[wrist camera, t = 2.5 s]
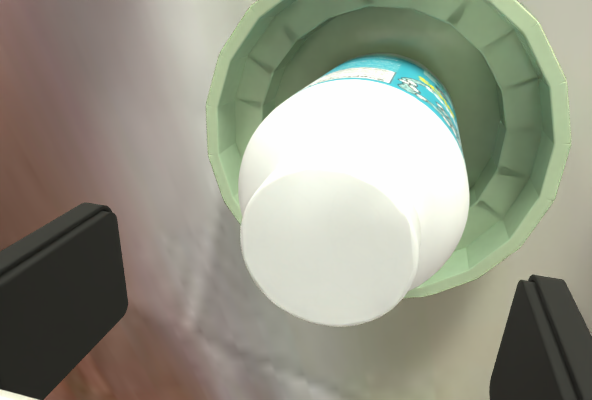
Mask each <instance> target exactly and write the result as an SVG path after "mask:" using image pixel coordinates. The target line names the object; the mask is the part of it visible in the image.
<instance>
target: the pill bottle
mask: <svg viewBox="0 0 592 400" xmlns="http://www.w3.org/2000/svg"><path fill="white" fill-rule="evenodd" d="M238 196H239V204H240V209H241V214H242V217H243V218H242V222H241V229H240V244H241V251H242V255H243V258H244V262H245V265H246V267H247V269H248V272H249V274H250V275H251V277H252V279H253V281H254V282H255V284H256V285H257V286H258V287H259V289H260V290H261V291H262V292H263V294H264V295H265V296H266V297H267V298H268V299H269V300H270V301H272V302H273V303H274V304H275V305H277V306H278V307H280V308H281V309H283V310H284V311H286V312H287V313H289V314H291V315H293V316H295V317H297V318H299V319H302V320H304V321H308V322H311V323H314V324H319V325H324V326H334V327H345V326H353V325H359V324H363V323H367V322H370V321H372V320H374V319H377V318H379V317H381V316H383V315H384V314H386V313H387V312H389V311H390V310H392V309H393V308H394V307H395V306H396V305H397V304H398V303H399V302H400V301H401V300H402V299H403V298H404V296H405V295H406V294H407V292H408V291H410V290H412V289H414V288H416V287H418V286H419V285H421V284H422V283H424V282H425V281H427V280H428V279H429V278H430V277H432V276H433V275H434V274H435V273H436V272H437V271H438V270H439V269H440V268H441V267H442V266H443V265H444V264H445V263H446V261H447V260H448V259H449V258H450V256H451V255H452V253H453V252H454V250H455V249H456V247H457V245H458V243H459V241H460V239H461V237H462V234H463V231H464V229H465V225H466V222H467V218H468V211H469V197H470V196H469V184H468V177H467V171H466V165H465V160H464V155H463V150H462V145H461V140H460V135H459V130H458V124H457V118H456V113H455V109H454V105H453V102H452V99H451V97H450V95H449V93H448V91H447V89H446V88H445V86H444V85H443V83H442V82H441V81H440V79H439V78H438V77H437V76H436V75H435V74H434V73H433V72H432V71H431V70H429V69H428V68H427V67H425V66H424V65H422V64H421V63H419V62H417V61H415V60H413V59H411V58H408V57H405V56H402V55H398V54H393V53H370V54H365V55H360V56H357V57H355V58H352V59H350V60H347V61H346V62H344V63H342V64H340V65H338V66H337V67H335V68H334V69H332V70H330V71H329V72H327V73H326V74H324V75H323V76H321V77H320V78H318V79H317V80H315V81H314V82H312V83H311V84H309V85H308V86H306V87H305V88H303V89H302V90H300V91H298V92H297V93H295V94H294V95H292V96H291V97H290V98H288V99H287V100H286V101H284V102H283V103H282V104H280V105H279V106H278V107H276V108H275V109H274V110H273V111H272V112H271V113H270V114H269V115H268V116H267V117H266V118H265V119H264V120H263V121H262V123H261V124H260V125H259V126H258V128H257V129H256V131H255V132H254V134H253V135H252V137H251V139H250V141H249V143H248V145H247V147H246V150H245V152H244V155H243V158H242V162H241V166H240V171H239V179H238Z"/></svg>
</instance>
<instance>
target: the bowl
mask: <svg viewBox="0 0 592 400" xmlns="http://www.w3.org/2000/svg"><path fill="white" fill-rule="evenodd" d="M370 53H393V54H398V55H402V56H405V57H408V58H411V59H413V60H415V61H417V62H419V63H421V64H422V65H424V66H425V67H427V68H428V69H429V70H431V71H432V72H433V73H434V74H435V75H436V76H437V77H438V78H439V79H440V81H441V82H442V83H443V85H444V86H445V88H446V89H447V91H448V93H449V95H450V97H451V99H452V102H453V105H454V109H455V113H456V118H457V124H458V130H459V135H460V140H461V145H462V150H463V155H464V160H465V165H466V171H467V177H468V184H469V196H470V197H469V211H468V218H467V222H466V225H465V229H464V231H463V234H462V237H461V239H460V241H459V243H458V245H457V247H456V249H455V250H454V252H453V253H452V255H451V256H450V258H449V259H448V260H447V261H446V263H445V264H444V265H443V266H442V267H441V268H440V269H439V270H438V271H437V272H436V273H435V274H434V275H433V276H432V277H430V278H429V279H428V280H427V281H425V282H424V283H422V284H421V285H419V286H418V287H416V288H414V289H412V290H410V291H408V292H407V294H406V295H405V296H404V298H414V297H427V296H431V295H434V294H436V293H439V292H442V291H445V290H448V289H451V288H453V287H456V286H459V285H462V284H465V283H468V282H470V281H473V280H476V279H478V278H479V277H481V276H482V275H483V274H485V273H486V272H488V271H489V270H490V269H492V268H493V267H494V266H496V265H497V264H499V263H500V262H501V261H503V260H504V259H505V258H507V257H508V256H509V255H511V254H512V253H514V252H515V251H516V250H518V249H519V248H520V246H522V245H523V243H524V242H525V240H526V239H527V238H528V236H529V235H530V234H531V232H532V231H533V229H534V228H535V227H536V225H537V224H538V223H539V221H540V220H541V218H542V217H543V216H544V214H545V213H546V212H547V210H548V209H549V207H550V206H551V205H552V203H553V201H554V200H555V197H556V194H557V191H558V187H559V184H560V181H561V177H562V174H563V171H564V167H565V164H566V161H567V157H568V154H569V151H570V147H571V128H570V114H569V100H568V86H567V82H566V77H565V75H564V73H563V71H562V69H561V67H560V65H559V63H558V61H557V58H556V56H555V54H554V52H553V50H552V48H551V46H550V44H549V42H548V40H547V37H546V35H545V33H544V31H543V29H542V27H541V25H540V23H539V22H538V20H537V19H536V18H535V17H534V16H532V15H531V14H530V13H529V12H528V11H527V10H526V9H525V8H524V7H523V6H522V5H521V4H520V3H519V2H517V1H516V0H257V1H256V2H255V3H254V4H252V5H251V7H250V8H249V9H248V10H247V12H246V13H245V15H244V16H243V18H242V19H241V21H240V22H239V24H238V26H237V27H236V29H235V30H234V32H233V33H232V35H231V36H230V38H229V39H228V41H227V42H226V44H225V46H224V47H223V49H222V50H221V52H220V54H219V56H218V60H217V64H216V68H215V72H214V75H213V79H212V83H211V87H210V90H209V94H208V98H207V102H206V124H207V147H208V157H209V160H210V163H211V166H212V169H213V172H214V174H215V177H216V180H217V183H218V186H219V189H220V192H221V195H222V198H223V200H224V202H225V204H226V205H227V207H228V208H229V209H230V211H231V212H232V214H233V215H234V217H235V218H236V220H237V221H238V222H239V224H240V225H241V222H242V218H243V217H242V214H241V209H240V204H239V196H238V179H239V171H240V166H241V162H242V158H243V155H244V152H245V150H246V147H247V145H248V143H249V141H250V139H251V137H252V135H253V134H254V132H255V131H256V129H257V128H258V126H259V125H260V124H261V123H262V121H263V120H264V119H265V118H266V117H267V116H268V115H269V114H270V113H271V112H272V111H273V110H274V109H275V108H276V107H278V106H279V105H280V104H282V103H283V102H284V101H286V100H287V99H288V98H290V97H291V96H292V95H294V94H295V93H297V92H298V91H300V90H302V89H303V88H305V87H306V86H308V85H309V84H311V83H312V82H314V81H315V80H317V79H318V78H320V77H321V76H323V75H324V74H326V73H327V72H329V71H330V70H332V69H334V68H335V67H337V66H338V65H340V64H342V63H344V62H346V61H347V60H350V59H352V58H355V57H357V56H360V55H365V54H370Z"/></svg>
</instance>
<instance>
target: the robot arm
mask: <svg viewBox="0 0 592 400" xmlns="http://www.w3.org/2000/svg"><path fill="white" fill-rule="evenodd" d="M127 307H128V298H127V291H126V283H125V276H124V268H123V260H122V253H121V245H120V238H119V230H118V223H117V217H116V215H115V214H114V213H112V211H111V209H110V208H109V207H108V206H104V205H98V204H92V203H82V204H80V205H78V206H77V207H75V208H73V209H72V210H70V211H68V212H67V213H65V214H63V215H62V216H60V217H58V218H56V219H55V220H53V221H51V222H50V223H48V224H46V225H45V226H43V227H41V228H40V229H38V230H36V231H34V232H33V233H31V234H29V235H28V236H26V237H24V238H23V239H21V240H19V241H17V242H16V243H14V244H12V245H11V246H9V247H7V248H6V249H4V250H2V251H1V252H0V400H44V398H45V397H46V396H47V395H48V394H49V393H50V392H51V391H52V390H53V389H54V388H55V387H56V386H57V385H58V384H59V383H60V382H61V381H62V380H63V379H64V378H65V377H66V376H67V375H68V373H69V372H70V371H71V370H72V369H73V368H74V367H75V366H76V365H77V364H78V363H79V362H80V361H81V360H82V359H83V358H84V357H85V356H86V355H87V354H88V353H89V352H90V351H91V349H92V348H93V347H94V346H95V345H96V344H97V343H98V342H99V341H100V340H101V339H102V338H103V337H104V336H105V335H106V334H107V333H108V332H109V331H110V330H111V329H112V328H113V327H114V326H115V324H116V323H117V322H118V321H119V320H120V319H121V318H122V317H123V316H124V314H125V313H126V310H127ZM490 400H592V336H591V334H590V332H589V330H588V328H587V326H586V324H585V322H584V320H583V317H582V315H581V313H580V311H579V309H578V307H577V305H576V303H575V301H574V299H573V297H572V295H571V293H570V291H569V289H568V287H567V285H566V283H565V281H564V280H562V279H556V278H550V277H544V276H537V275H532V276H530V278H529V280H528V281H525V280H520V281H519V283H518V285H517V288H516V292H515V295H514V299H513V302H512V306H511V309H510V313H509V316H508V320H507V323H506V327H505V330H504V334H503V337H502V341H501V344H500V348H499V352H498V355H497V359H496V362H495V366H494V369H493V373H492V376H491V380H490Z"/></svg>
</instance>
